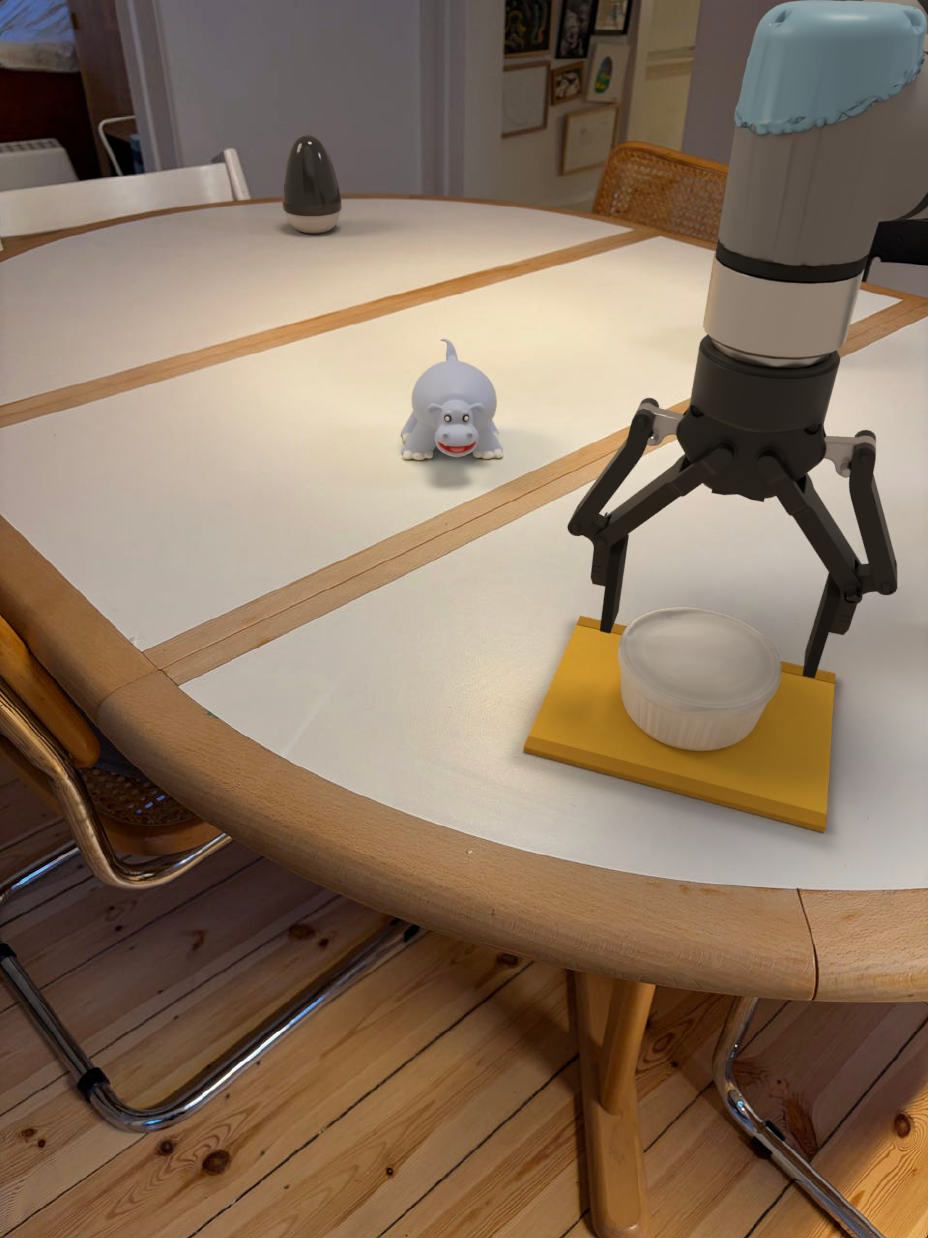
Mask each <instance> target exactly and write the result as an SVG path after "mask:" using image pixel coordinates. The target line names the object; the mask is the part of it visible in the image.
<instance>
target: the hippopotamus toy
mask: <svg viewBox="0 0 928 1238" xmlns="http://www.w3.org/2000/svg"><path fill="white" fill-rule="evenodd" d="M439 341H440V342H444V343H446V350H445V351H446V352H445V360H444V361H440V362H437V363H435V364H433V365H431V366H429V368H428V369H426V370H425V371H424V372H423V373H422V374H421V375H420V376H419V377H418V379H417V380H416V381H415V383H414V386H413V388H412V392H411V408H412V411H411V413H410V415H409V417H408V418H407V420H406V422H405V424H404V426H403V427H402V429H401V431H400V435H401V437H402V441H403V443H404V445H403V446H402V448H401V453H402V459H404V460H415V461H423V460H424V459H432V458H434V451H435V448H436V447H437V449H438V450H439V451H440V452H441V453H443V454H445V455H447V456H450V457H454V458H461V457H464V456H467V455H469V454H471V453H472V456H473V457H474V458H476V459H478V458H479V459H480V458H481V459H483V460H490V459H493V458H495V459H501V458H503V457H504V452H503V451H504V449H503V446H502V444H501V443H500V441H499V439H500V438H499V429H498V428H497V426H496V424H495V422H494V421H493V420H494V417H495V415H496V411H497V404H498V398H497V397H498V396H497V393H496V389H495V387H494V384H493V382H491V380H490V378H489V377H488V376H487V375H486V373H484V372H483V371H482V370H480V369H479V368H477V367H476V366H474V365H472V364H470V363H468V362H465V361H461V360H459V358H458V353H457V350H456V348H455V346H454V344H453V343H452V341H450V340H449V339H448V338H441V339H440V340H439Z"/></svg>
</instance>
